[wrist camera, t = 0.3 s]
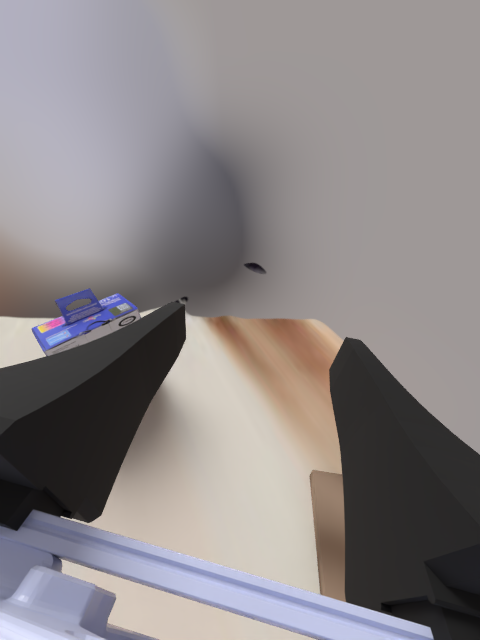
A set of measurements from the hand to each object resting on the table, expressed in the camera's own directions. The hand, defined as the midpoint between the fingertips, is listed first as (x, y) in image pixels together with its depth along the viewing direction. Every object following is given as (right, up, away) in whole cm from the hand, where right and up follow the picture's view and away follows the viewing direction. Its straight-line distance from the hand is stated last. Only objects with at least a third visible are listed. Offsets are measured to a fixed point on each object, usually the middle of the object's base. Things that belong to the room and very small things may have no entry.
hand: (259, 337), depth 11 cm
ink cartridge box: (-18, -9, +23) cm, 30 cm away
